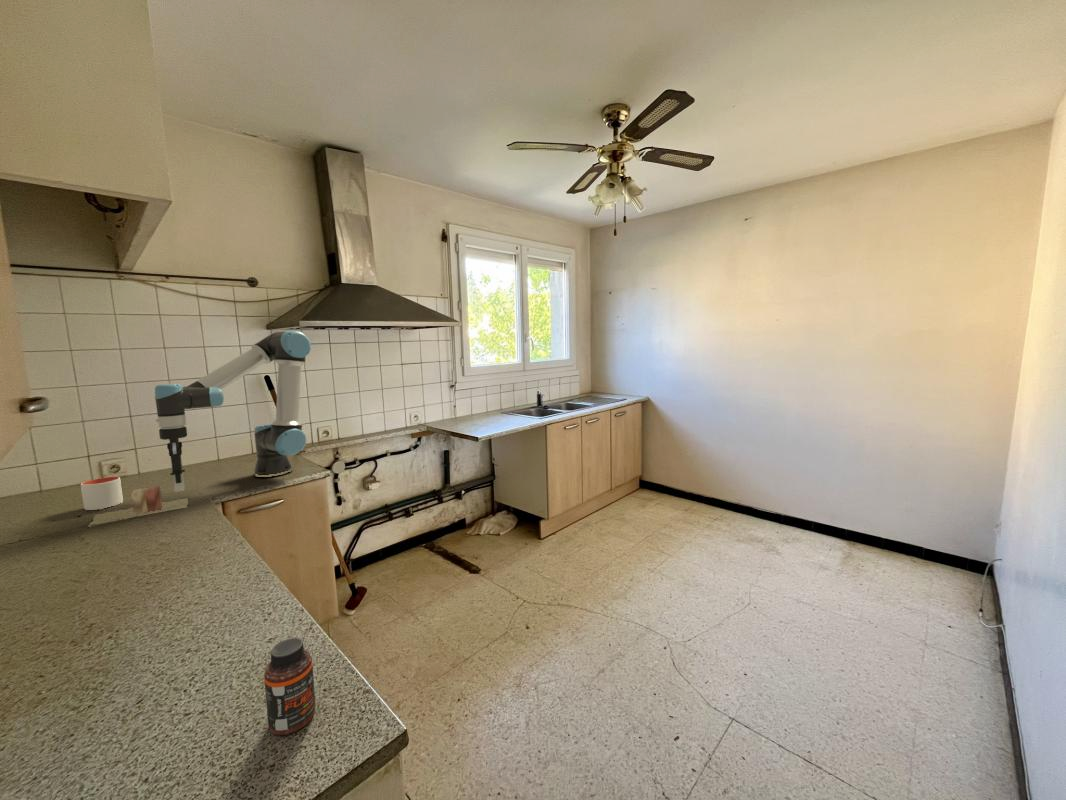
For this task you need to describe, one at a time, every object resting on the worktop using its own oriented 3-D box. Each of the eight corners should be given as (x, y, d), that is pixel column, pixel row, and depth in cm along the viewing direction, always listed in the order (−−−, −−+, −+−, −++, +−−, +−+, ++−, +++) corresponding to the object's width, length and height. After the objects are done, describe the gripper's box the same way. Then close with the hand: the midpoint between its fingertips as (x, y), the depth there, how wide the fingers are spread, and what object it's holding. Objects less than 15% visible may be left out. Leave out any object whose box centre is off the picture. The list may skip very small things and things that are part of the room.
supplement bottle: (289, 744, 56) (281, 666, 55) (258, 730, 59) (251, 655, 57) (325, 709, 62) (319, 638, 61) (296, 697, 64) (290, 629, 63)
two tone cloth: (160, 485, 151) (133, 490, 147) (158, 490, 146) (131, 495, 142) (162, 504, 152) (136, 509, 148) (161, 509, 147) (133, 514, 142)
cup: (99, 512, 146) (95, 485, 145) (76, 511, 148) (72, 484, 147) (131, 502, 156) (127, 476, 155) (109, 502, 158) (105, 476, 157)
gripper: (160, 426, 153) (167, 489, 155) (157, 430, 142) (165, 497, 145) (186, 423, 157) (193, 484, 160) (185, 428, 147) (192, 493, 150)
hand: (179, 490), depth 152 cm, fingers closed
